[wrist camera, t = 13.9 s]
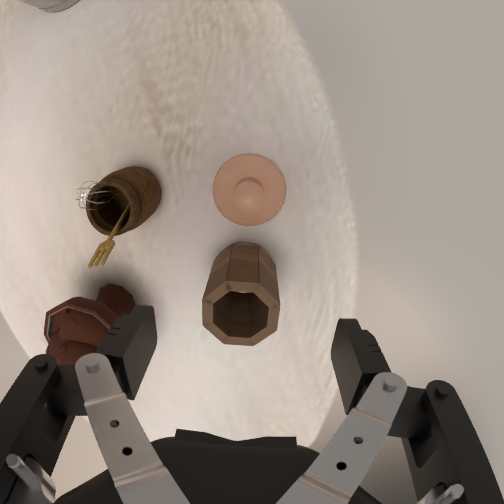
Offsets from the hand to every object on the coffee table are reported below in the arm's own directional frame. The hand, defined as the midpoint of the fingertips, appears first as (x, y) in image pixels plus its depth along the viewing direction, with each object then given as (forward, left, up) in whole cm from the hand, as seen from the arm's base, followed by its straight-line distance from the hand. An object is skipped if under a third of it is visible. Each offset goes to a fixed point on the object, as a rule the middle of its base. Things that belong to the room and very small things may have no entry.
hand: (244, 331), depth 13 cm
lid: (-2, 0, -21) cm, 21 cm away
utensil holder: (-1, -12, -21) cm, 24 cm away
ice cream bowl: (+13, -16, -21) cm, 29 cm away
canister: (+7, 0, -21) cm, 22 cm away
